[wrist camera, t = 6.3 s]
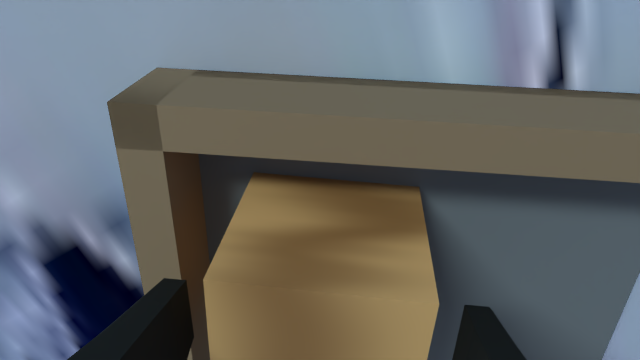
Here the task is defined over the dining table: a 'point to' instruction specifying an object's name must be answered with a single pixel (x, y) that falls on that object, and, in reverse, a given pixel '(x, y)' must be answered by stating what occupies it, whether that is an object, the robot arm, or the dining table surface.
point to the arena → (409, 170)
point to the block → (322, 273)
